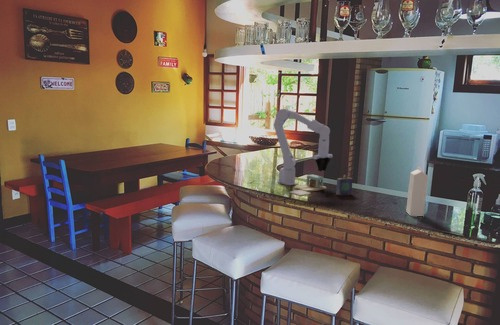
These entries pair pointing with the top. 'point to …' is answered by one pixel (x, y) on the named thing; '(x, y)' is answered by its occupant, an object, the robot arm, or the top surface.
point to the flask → (344, 186)
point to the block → (314, 183)
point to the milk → (417, 193)
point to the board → (308, 188)
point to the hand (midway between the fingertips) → (321, 170)
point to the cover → (315, 179)
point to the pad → (300, 192)
